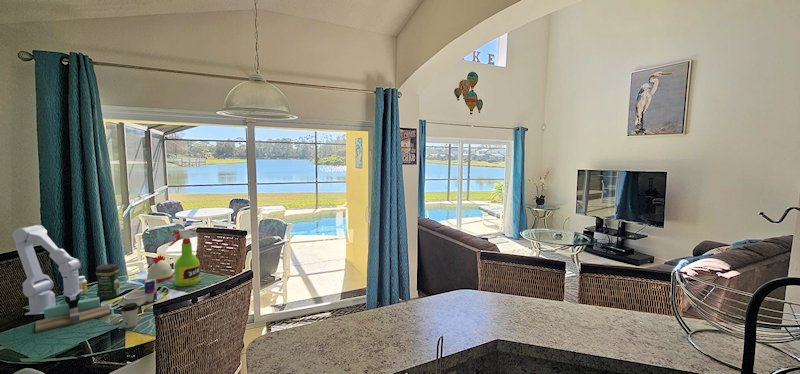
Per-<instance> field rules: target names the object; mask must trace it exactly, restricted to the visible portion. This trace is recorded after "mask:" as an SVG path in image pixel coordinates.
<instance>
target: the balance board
mask: <svg viewBox="0 0 800 374" xmlns="http://www.w3.org/2000/svg"><path fill="white" fill-rule="evenodd" d="M69 311H70V313H69V314H65V315H61V316H56V317H52V318H48V319H45V318H44V319H40V320H36V321H35V328H34V330H35V333H40V331H41V332H45V331H48V330H49V331H50V330H53V329H57V328H60V327H65V326H68V325H69V326H70V325H73V324H76V323H81V322H85V321H89V320H93V319H96V318H100V317H105V316H108V315H109V316H110V315H111V314H112V312H111V310H110V306H109V305H108V304H104V305H100V306H99V307H95V308H91V309H86V310H82V311H78V307H74V308H70V309H69Z"/></svg>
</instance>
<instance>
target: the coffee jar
mask: <svg viewBox="0 0 800 374" xmlns="http://www.w3.org/2000/svg"><path fill="white" fill-rule="evenodd" d="M119 271H120V269H119V265H118V264H116V263H114V264H113V263H112V264H111V263H110V264H109V263H108V264H99V265H97V267H96V268H95V275H96V278H97V289H96V292H97V293H96V297H99V300H101V299H113V298H115V297H118V296H119V295H121V289H120V282H119Z"/></svg>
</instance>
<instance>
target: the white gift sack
mask: <svg viewBox="0 0 800 374" xmlns="http://www.w3.org/2000/svg"><path fill="white" fill-rule="evenodd" d="M147 271H148V273H147V276H146V280H147V279H156V283H158V282H163V281H164V282H165V281H168V280H170V279H172V278H173V277H174V270H173V268H172V267H171V265H170V263H168V262H167V261H166V257H165V256H163V255H161V254H160V255H158V256H155V258H154V259H153V263H152V265H150V267H149V268H148V269H147Z"/></svg>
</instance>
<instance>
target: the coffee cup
mask: <svg viewBox="0 0 800 374" xmlns="http://www.w3.org/2000/svg"><path fill="white" fill-rule="evenodd" d="M139 308H140V305H139V304H138V303H137V302H129V303H125V304H124V305H123V306H122V307H121V308H120V309H119V310H120V312H121V317H122V322H123V325H124V328H127V329H129V328H133V327H136V325H138V318H139V317H138V316H139Z"/></svg>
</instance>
